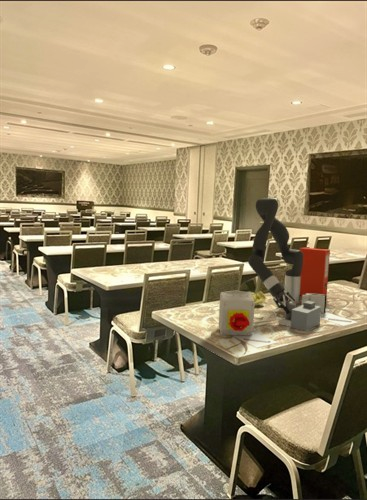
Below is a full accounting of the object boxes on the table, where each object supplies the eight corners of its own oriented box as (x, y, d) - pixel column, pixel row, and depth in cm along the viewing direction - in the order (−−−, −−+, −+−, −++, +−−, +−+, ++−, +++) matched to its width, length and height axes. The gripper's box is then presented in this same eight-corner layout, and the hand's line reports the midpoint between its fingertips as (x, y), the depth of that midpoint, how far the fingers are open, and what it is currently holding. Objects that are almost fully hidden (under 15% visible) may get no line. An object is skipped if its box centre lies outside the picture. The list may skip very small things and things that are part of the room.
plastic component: (243, 305, 210) (233, 295, 217) (240, 315, 214) (230, 304, 221) (269, 299, 220) (259, 289, 227) (265, 308, 224) (255, 298, 231)
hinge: (301, 312, 207) (302, 295, 206) (299, 310, 212) (300, 293, 211) (326, 313, 206) (327, 295, 205) (323, 310, 211) (324, 293, 210)
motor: (295, 315, 200) (297, 295, 199) (322, 321, 190) (324, 300, 189) (278, 323, 186) (279, 302, 184) (306, 331, 176) (307, 308, 174)
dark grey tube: (287, 320, 192) (288, 300, 190) (296, 322, 188) (297, 302, 187) (282, 322, 188) (283, 302, 187) (292, 325, 184) (293, 304, 183)
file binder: (301, 293, 253) (304, 247, 249) (326, 297, 242) (329, 249, 238) (296, 295, 247) (299, 248, 243) (321, 299, 236) (325, 250, 232)
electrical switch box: (221, 343, 164) (223, 302, 158) (218, 328, 178) (220, 289, 173) (254, 344, 164) (257, 303, 158) (248, 328, 178) (251, 290, 173)
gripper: (271, 284, 185) (291, 310, 179) (285, 280, 196) (304, 305, 189) (262, 292, 189) (281, 318, 183) (275, 288, 200) (294, 312, 194)
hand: (293, 311), depth 186 cm, fingers open, 8 cm apart
